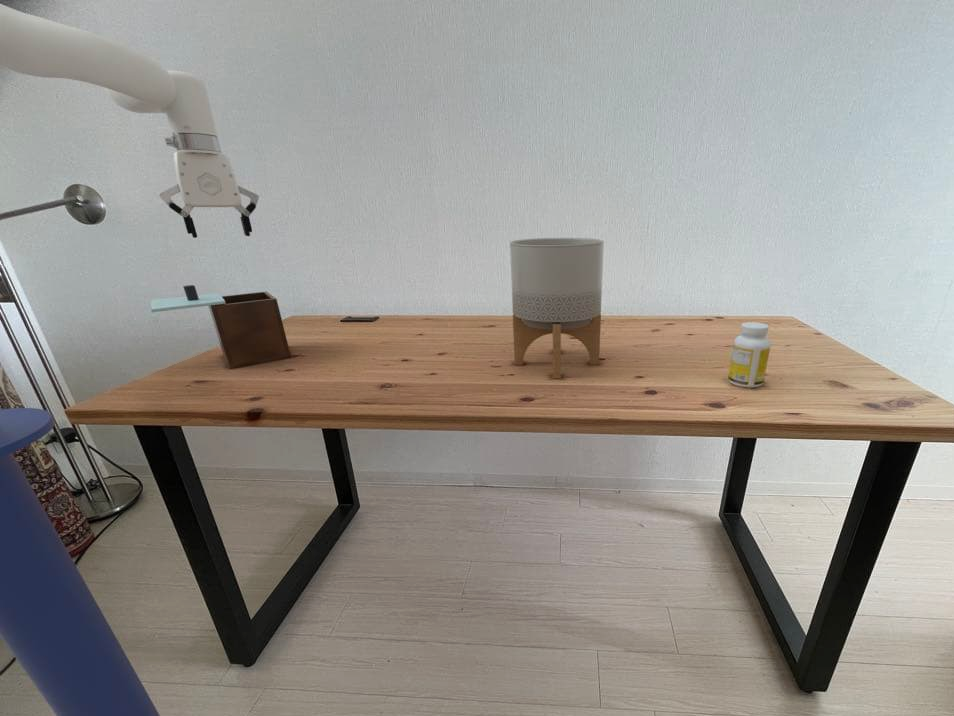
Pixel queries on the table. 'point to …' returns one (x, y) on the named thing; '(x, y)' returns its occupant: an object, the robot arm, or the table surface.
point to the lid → (187, 300)
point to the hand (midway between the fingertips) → (222, 236)
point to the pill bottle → (750, 355)
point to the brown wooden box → (250, 329)
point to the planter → (556, 293)
